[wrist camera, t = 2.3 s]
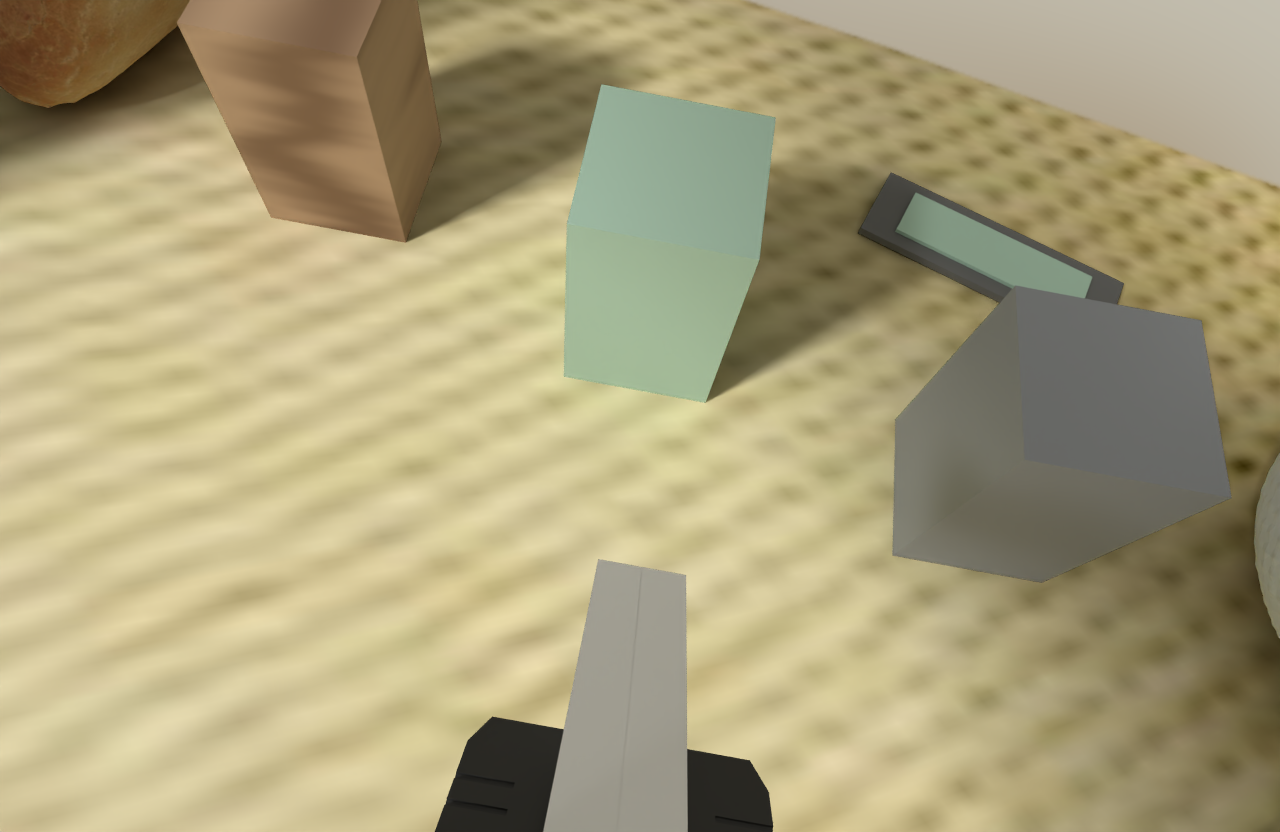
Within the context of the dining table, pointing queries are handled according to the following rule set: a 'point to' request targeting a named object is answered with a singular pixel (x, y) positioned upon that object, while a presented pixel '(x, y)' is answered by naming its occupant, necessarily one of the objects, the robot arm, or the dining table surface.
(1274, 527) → the cereal bowl
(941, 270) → the card
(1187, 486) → the charcoal block
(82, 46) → the bread roll
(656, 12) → the dining table surface
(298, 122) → the walnut block
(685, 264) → the sage block
